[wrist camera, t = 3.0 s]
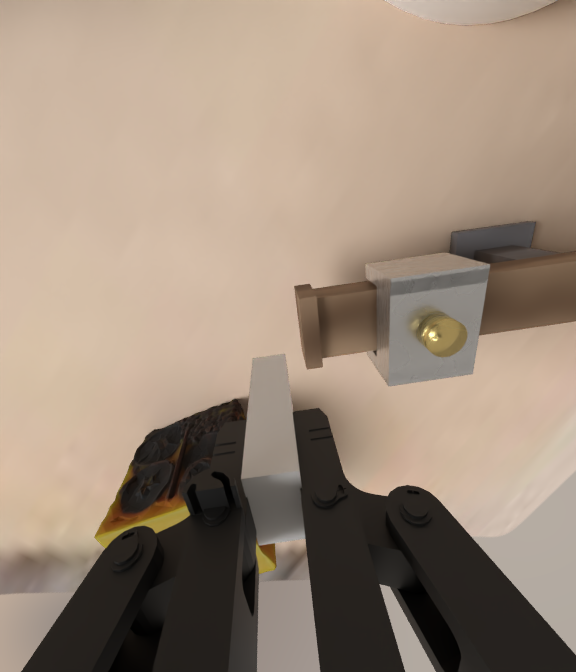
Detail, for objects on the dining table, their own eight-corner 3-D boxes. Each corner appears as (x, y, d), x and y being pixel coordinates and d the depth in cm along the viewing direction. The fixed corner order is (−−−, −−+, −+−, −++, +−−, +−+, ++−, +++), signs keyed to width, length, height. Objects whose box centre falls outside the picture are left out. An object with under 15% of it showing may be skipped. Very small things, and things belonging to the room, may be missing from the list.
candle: (237, 396, 28) (224, 488, 19) (278, 466, 32) (283, 570, 23) (143, 431, 29) (86, 536, 20) (194, 495, 33) (166, 606, 24)
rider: (365, 263, 18) (400, 284, 13) (445, 252, 18) (508, 269, 13) (366, 354, 21) (396, 398, 16) (436, 344, 21) (486, 385, 16)
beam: (287, 255, 23) (296, 277, 16) (688, 198, 23) (869, 195, 16) (297, 336, 26) (308, 385, 19) (654, 285, 26) (795, 314, 19)
